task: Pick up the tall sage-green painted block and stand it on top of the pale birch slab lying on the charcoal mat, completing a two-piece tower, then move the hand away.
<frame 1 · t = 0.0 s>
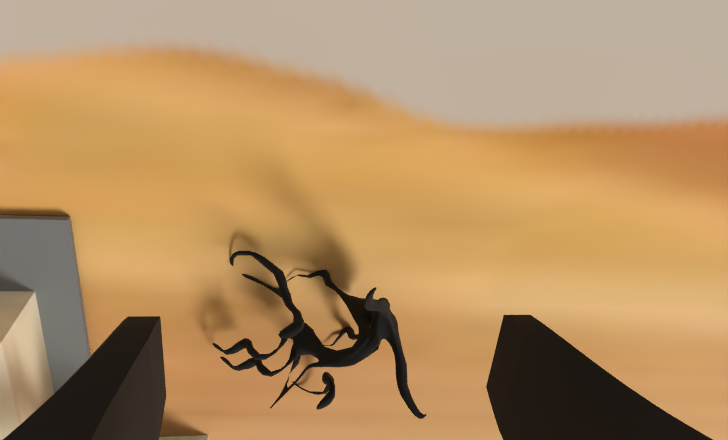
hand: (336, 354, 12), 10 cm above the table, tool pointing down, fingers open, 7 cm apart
creature: (300, 310, 24), on the table
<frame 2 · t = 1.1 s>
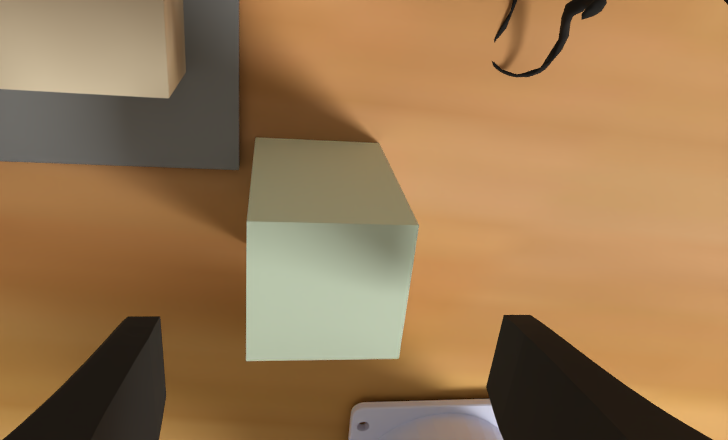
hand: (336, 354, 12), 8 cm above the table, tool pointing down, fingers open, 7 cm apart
pillar block: (314, 196, 19), on the table
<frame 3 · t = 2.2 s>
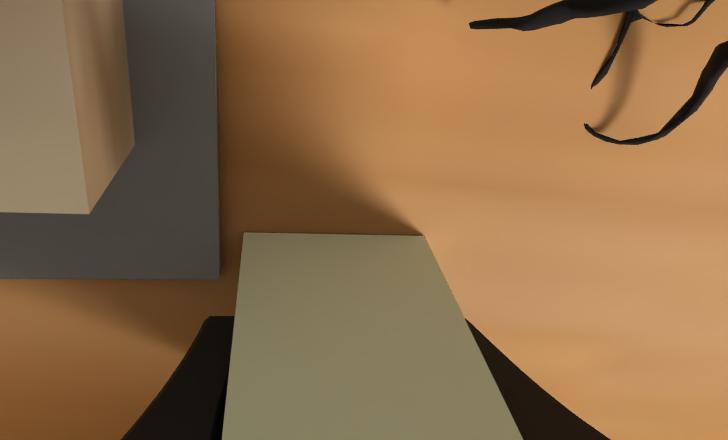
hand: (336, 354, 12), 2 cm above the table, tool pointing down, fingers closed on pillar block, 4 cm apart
pillar block: (330, 309, 13), on the table, touching gripper
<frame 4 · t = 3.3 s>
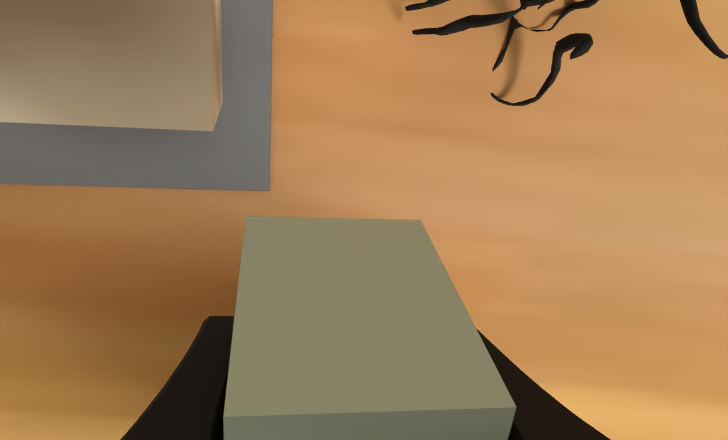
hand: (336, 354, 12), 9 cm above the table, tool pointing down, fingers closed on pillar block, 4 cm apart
pillar block: (329, 292, 14), point 7 cm above the table, touching gripper
when the fingers open (6 cm above the table, at t = 4.6 s): pillar block stays where it is, resting on base slab.
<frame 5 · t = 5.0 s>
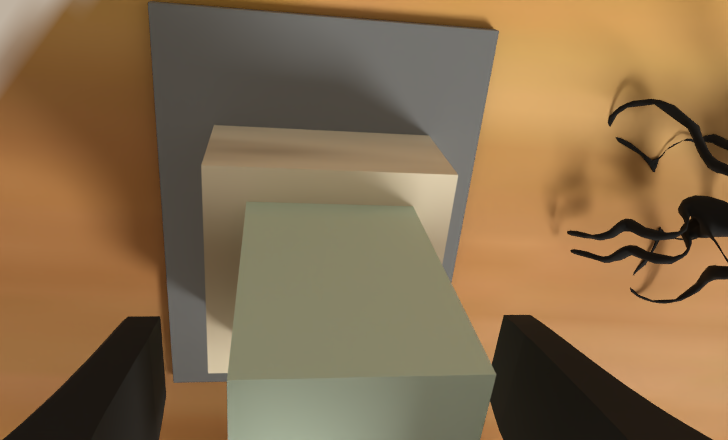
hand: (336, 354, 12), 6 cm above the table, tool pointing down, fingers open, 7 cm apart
pillar block: (326, 275, 15), point 3 cm above the table, touching base slab
creature: (662, 192, 19), on the table
base slab: (318, 226, 17), resting on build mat, touching pillar block
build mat: (317, 221, 18), on the table
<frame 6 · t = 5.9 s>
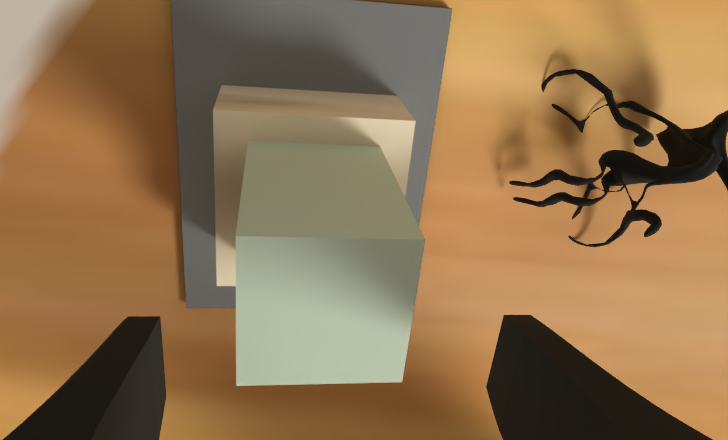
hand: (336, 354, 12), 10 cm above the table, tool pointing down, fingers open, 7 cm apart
pillar block: (311, 203, 18), point 3 cm above the table, touching base slab
creature: (591, 151, 23), on the table
base slab: (307, 172, 21), resting on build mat, touching pillar block
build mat: (306, 169, 21), on the table
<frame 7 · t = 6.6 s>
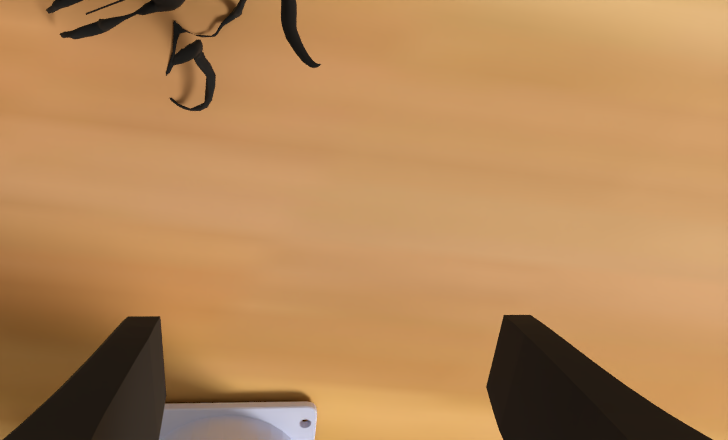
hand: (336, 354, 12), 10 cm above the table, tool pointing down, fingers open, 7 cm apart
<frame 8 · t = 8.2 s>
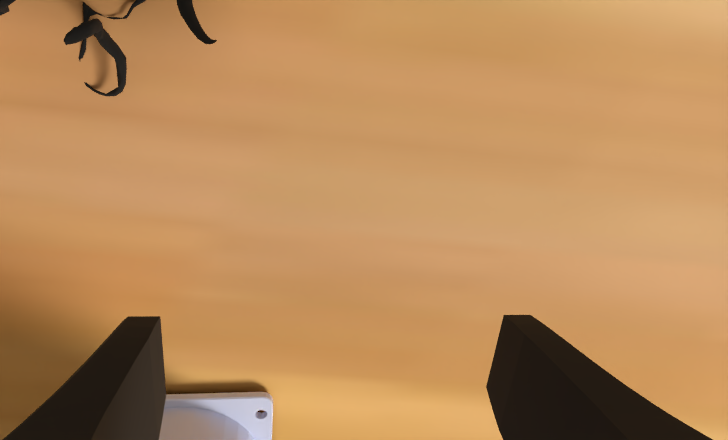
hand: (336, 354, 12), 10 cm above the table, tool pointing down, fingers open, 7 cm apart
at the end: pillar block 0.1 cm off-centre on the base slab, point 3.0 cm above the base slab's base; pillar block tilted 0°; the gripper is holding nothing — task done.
